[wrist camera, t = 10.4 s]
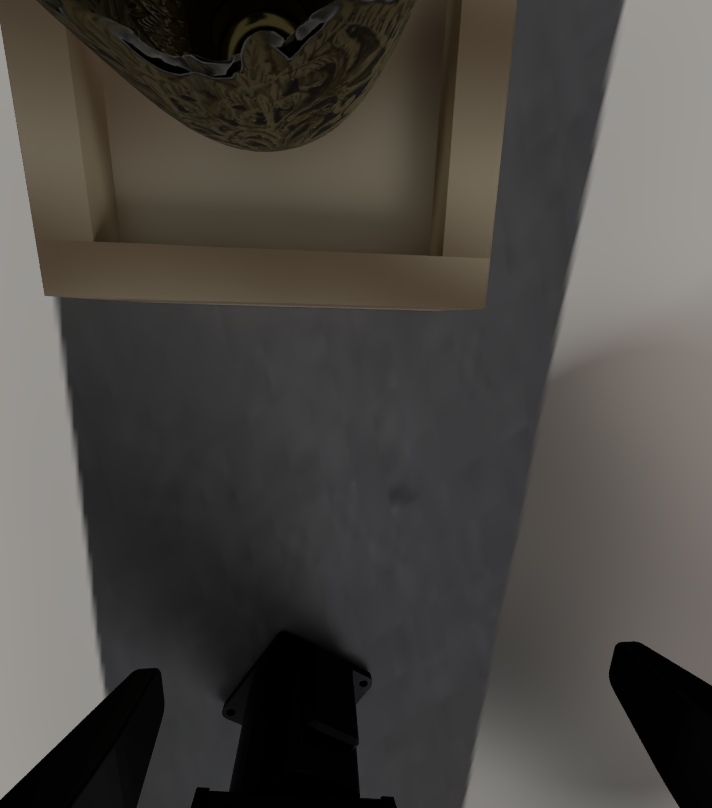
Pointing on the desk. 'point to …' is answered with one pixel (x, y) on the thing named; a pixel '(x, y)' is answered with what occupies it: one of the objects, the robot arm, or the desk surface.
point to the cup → (244, 60)
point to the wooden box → (269, 178)
